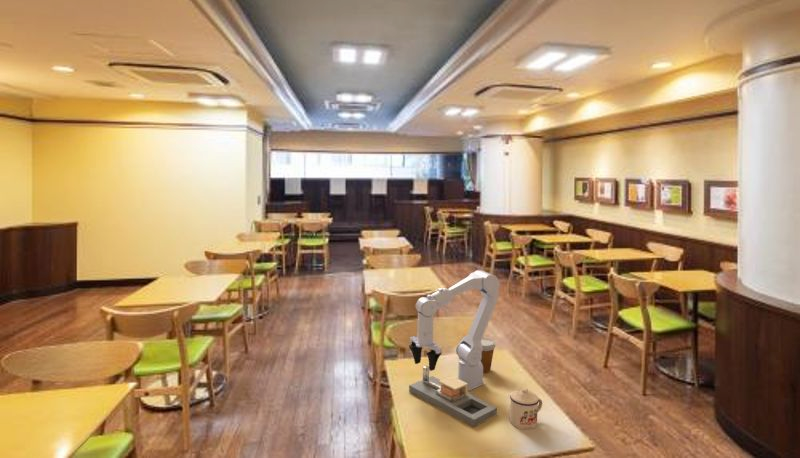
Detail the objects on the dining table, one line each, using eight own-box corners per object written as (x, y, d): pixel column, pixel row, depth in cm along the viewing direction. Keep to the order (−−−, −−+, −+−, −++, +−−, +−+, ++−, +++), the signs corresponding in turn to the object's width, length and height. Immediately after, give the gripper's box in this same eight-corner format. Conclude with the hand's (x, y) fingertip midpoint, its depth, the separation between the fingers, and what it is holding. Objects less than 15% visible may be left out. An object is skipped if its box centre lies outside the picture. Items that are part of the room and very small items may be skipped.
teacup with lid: (521, 432, 150) (523, 398, 149) (503, 418, 158) (504, 385, 157) (550, 424, 155) (552, 390, 154) (531, 411, 163) (533, 379, 162)
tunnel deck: (409, 391, 176) (409, 373, 175) (432, 382, 184) (432, 364, 183) (473, 426, 153) (474, 406, 152) (497, 414, 161) (497, 394, 160)
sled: (417, 383, 177) (417, 368, 176) (429, 378, 181) (429, 363, 180) (452, 402, 164) (453, 385, 163) (464, 396, 168) (465, 380, 167)
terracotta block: (440, 394, 169) (440, 385, 169) (449, 390, 172) (449, 381, 172) (451, 399, 165) (451, 390, 165) (459, 396, 168) (460, 386, 168)
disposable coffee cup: (494, 375, 190) (495, 347, 189) (470, 373, 192) (471, 344, 191) (494, 366, 200) (495, 338, 198) (471, 363, 202) (472, 336, 200)
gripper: (403, 328, 176) (403, 363, 178) (431, 339, 165) (431, 376, 167) (417, 323, 181) (417, 358, 182) (445, 334, 170) (445, 370, 172)
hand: (424, 366), depth 175 cm, fingers open, 7 cm apart
